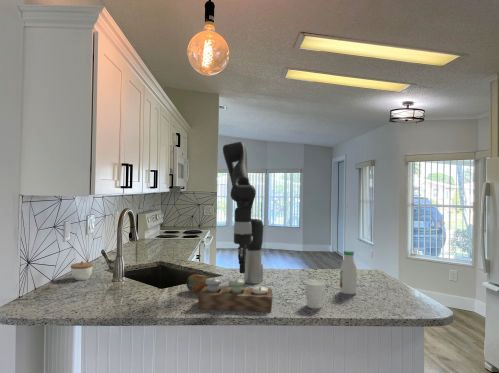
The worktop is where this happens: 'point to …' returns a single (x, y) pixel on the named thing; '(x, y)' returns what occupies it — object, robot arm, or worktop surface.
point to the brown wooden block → (235, 300)
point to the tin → (196, 283)
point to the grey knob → (213, 285)
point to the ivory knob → (260, 290)
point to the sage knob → (236, 285)
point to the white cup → (315, 293)
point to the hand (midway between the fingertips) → (242, 272)
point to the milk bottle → (348, 274)
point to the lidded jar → (81, 270)
